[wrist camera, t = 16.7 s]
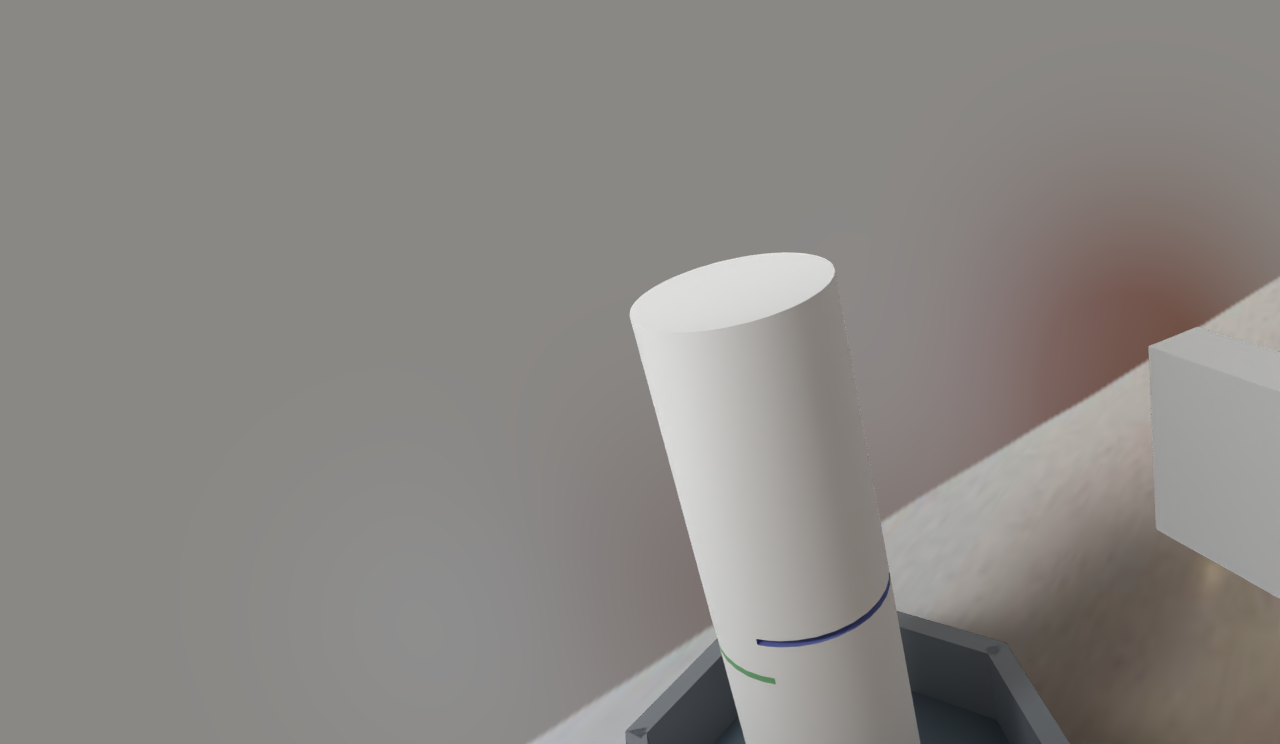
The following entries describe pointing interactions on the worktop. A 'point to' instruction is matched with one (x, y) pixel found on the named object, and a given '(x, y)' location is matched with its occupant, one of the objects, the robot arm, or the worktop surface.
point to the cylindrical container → (779, 496)
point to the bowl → (939, 681)
